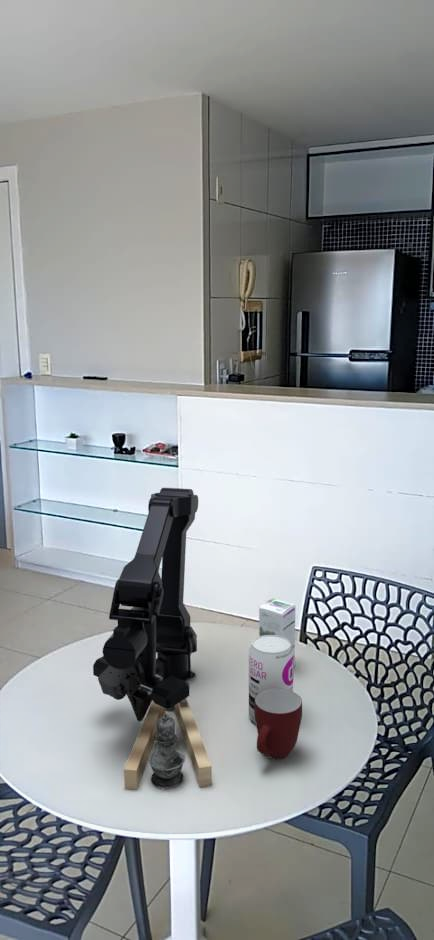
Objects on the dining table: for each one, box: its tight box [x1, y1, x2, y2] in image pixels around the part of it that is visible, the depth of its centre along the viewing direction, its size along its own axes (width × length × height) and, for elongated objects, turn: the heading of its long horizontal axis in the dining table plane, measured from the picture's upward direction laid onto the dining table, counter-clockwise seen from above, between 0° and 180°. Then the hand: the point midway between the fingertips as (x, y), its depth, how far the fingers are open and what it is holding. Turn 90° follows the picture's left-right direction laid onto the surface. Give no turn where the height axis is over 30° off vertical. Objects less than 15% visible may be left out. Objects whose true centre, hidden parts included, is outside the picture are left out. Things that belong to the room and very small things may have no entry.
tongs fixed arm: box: [165, 697, 213, 788], centre depth 129 cm, size 25×4×4 cm, turn 13°
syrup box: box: [258, 598, 296, 667], centre depth 153 cm, size 6×6×14 cm
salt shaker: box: [148, 711, 186, 790], centre depth 118 cm, size 6×6×12 cm
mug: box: [254, 688, 303, 760], centre depth 124 cm, size 10×8×10 cm
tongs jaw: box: [123, 700, 166, 790], centre depth 127 cm, size 22×2×4 cm, turn 172°
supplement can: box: [248, 635, 295, 724], centre depth 135 cm, size 8×8×15 cm
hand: (140, 720), depth 133 cm, fingers closed
